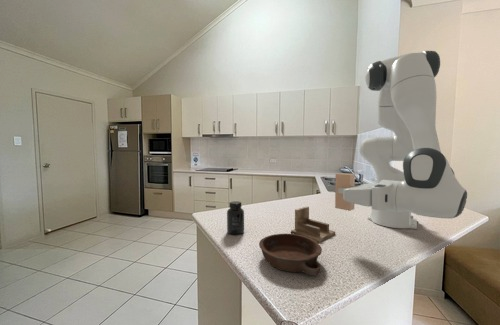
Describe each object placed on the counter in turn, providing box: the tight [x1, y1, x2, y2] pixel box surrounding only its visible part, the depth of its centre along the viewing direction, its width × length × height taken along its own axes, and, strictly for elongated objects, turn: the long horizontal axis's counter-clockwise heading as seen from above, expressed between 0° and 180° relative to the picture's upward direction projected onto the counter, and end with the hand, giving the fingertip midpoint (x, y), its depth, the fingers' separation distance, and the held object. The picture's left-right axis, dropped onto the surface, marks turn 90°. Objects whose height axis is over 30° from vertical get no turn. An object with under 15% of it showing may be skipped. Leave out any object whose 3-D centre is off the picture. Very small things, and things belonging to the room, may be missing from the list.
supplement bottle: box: [226, 200, 245, 236], centre depth 83 cm, size 7×7×12 cm
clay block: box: [334, 172, 356, 211], centre depth 72 cm, size 4×5×12 cm
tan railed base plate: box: [290, 205, 336, 244], centre depth 82 cm, size 12×12×9 cm
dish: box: [258, 233, 323, 277], centre depth 61 cm, size 18×22×5 cm
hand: (342, 189), depth 73 cm, fingers closed on clay block, 3 cm apart
